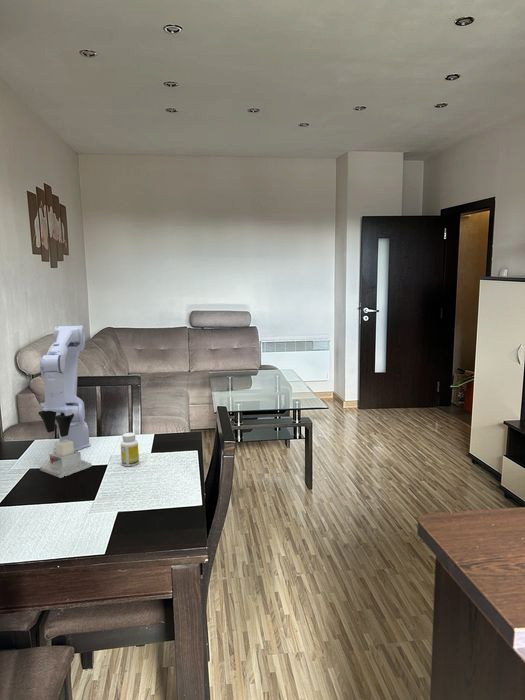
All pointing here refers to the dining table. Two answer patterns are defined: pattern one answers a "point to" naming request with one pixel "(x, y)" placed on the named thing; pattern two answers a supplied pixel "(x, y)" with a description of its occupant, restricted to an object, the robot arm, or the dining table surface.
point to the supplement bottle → (129, 450)
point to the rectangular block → (64, 448)
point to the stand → (65, 464)
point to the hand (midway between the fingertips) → (57, 433)
